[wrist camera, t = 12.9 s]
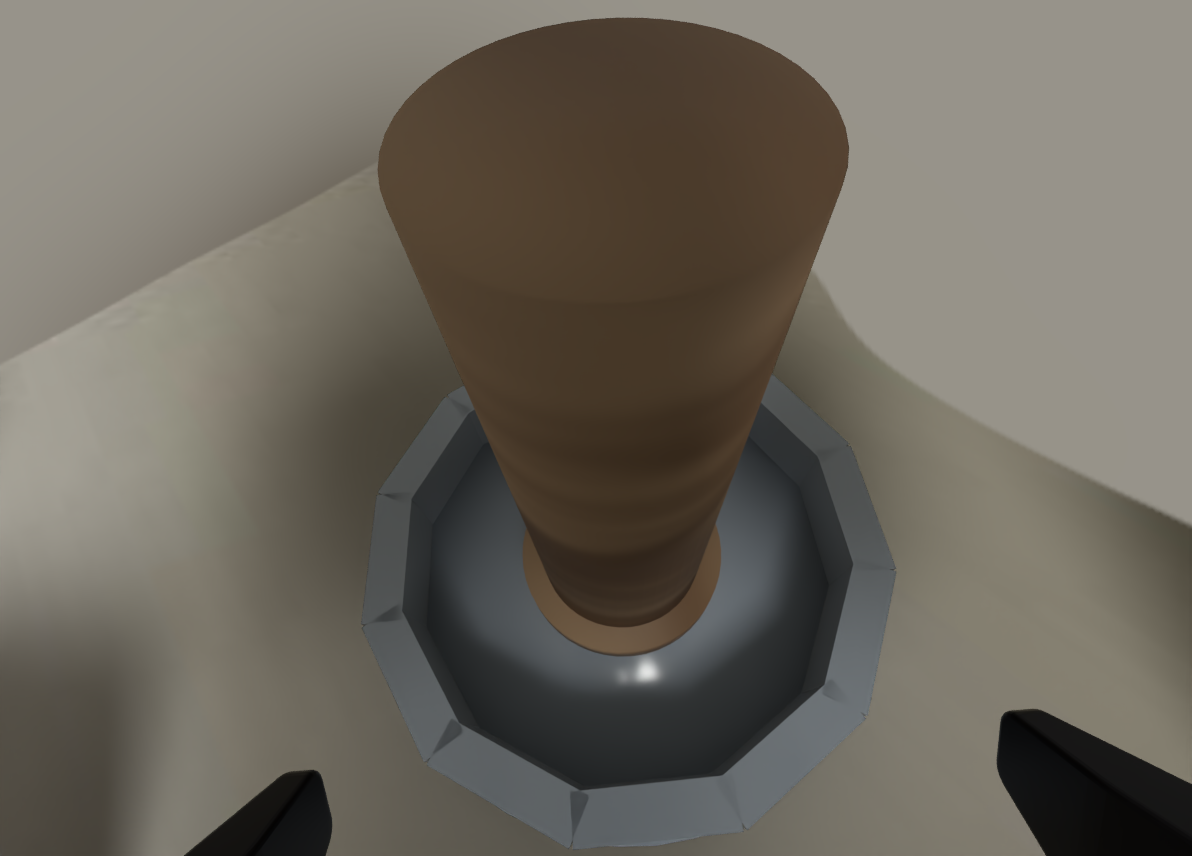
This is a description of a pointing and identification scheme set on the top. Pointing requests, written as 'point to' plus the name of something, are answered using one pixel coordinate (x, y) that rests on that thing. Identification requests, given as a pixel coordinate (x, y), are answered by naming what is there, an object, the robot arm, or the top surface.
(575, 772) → the round dish
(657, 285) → the walnut peg
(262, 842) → the robot arm
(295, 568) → the top surface
